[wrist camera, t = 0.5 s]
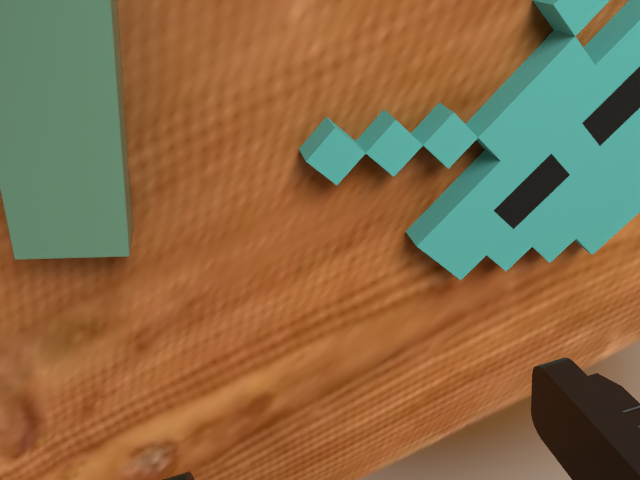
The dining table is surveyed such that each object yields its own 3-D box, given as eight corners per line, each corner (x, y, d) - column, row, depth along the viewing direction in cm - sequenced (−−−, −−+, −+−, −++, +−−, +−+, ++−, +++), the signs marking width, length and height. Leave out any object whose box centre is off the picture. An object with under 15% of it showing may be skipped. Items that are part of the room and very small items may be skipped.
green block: (-19, -37, 21) (-45, -31, 18) (116, -23, 22) (109, -16, 20) (29, 227, 27) (14, 259, 24) (133, 226, 28) (129, 256, 25)
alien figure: (296, 145, 28) (499, 303, 38) (306, 161, 26) (516, 322, 36) (588, -199, 23) (733, 87, 33) (625, -209, 21) (767, 97, 31)
